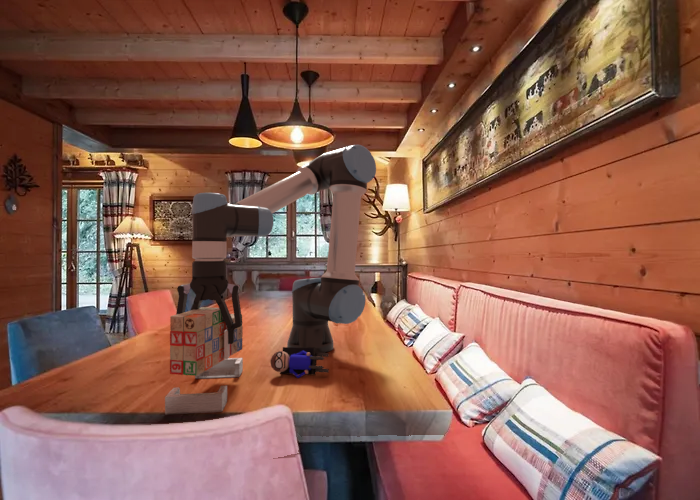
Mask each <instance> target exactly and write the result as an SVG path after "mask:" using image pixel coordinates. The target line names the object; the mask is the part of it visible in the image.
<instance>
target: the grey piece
mask: <svg viewBox="0 0 700 500" xmlns="http://www.w3.org/2000/svg"><path fill="white" fill-rule="evenodd" d="M243 362H244V361H243V357H229V358H228V359H224V360H223V361H221V362H219V363H218V364H216V365H215V366H213V367H211V368H209V369H208V370H206V371H204V372H202V373H200V374H199V375H197V376H194V379H196V380H198V379H199V380H202V379H223V378H239V377H241V375H242V373H243V366H244V365H243Z"/></svg>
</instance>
